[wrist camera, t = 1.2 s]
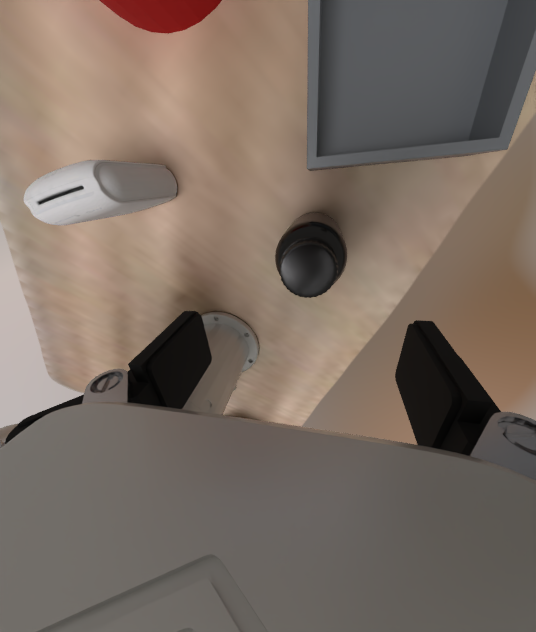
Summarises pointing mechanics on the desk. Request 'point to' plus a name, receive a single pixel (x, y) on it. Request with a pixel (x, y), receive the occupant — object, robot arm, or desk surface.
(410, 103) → the box
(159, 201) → the photo printer
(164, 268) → the desk surface
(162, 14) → the toy clock
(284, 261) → the supplement bottle
